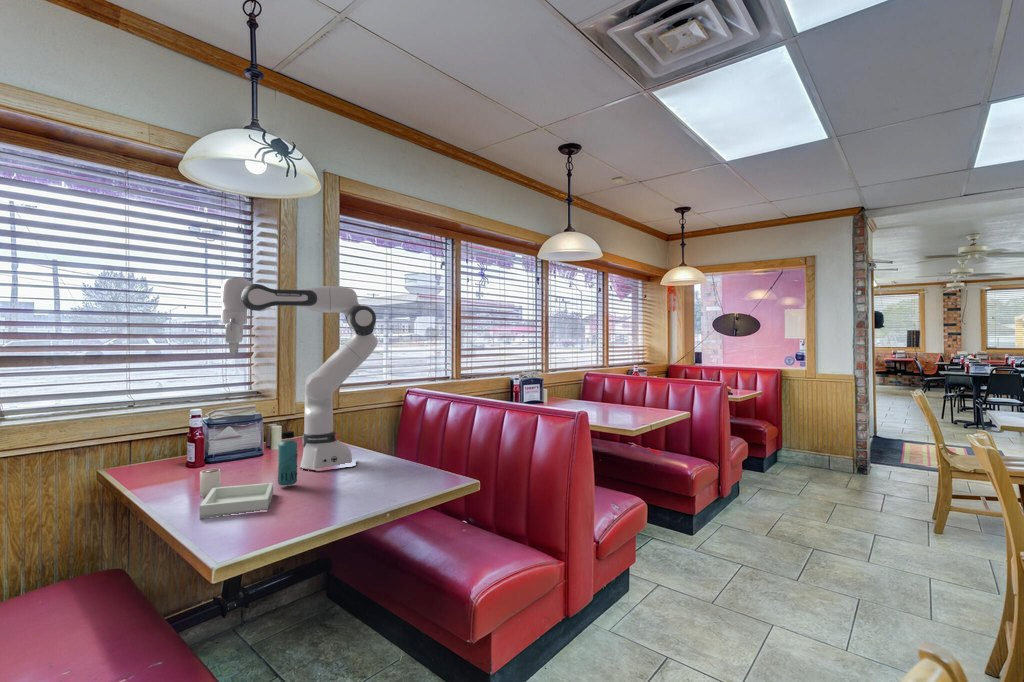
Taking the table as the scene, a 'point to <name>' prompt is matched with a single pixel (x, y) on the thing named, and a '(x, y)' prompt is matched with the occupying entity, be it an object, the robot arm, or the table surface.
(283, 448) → the beverage bottle
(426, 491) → the table surface
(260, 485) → the tray
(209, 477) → the cup
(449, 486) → the table surface
